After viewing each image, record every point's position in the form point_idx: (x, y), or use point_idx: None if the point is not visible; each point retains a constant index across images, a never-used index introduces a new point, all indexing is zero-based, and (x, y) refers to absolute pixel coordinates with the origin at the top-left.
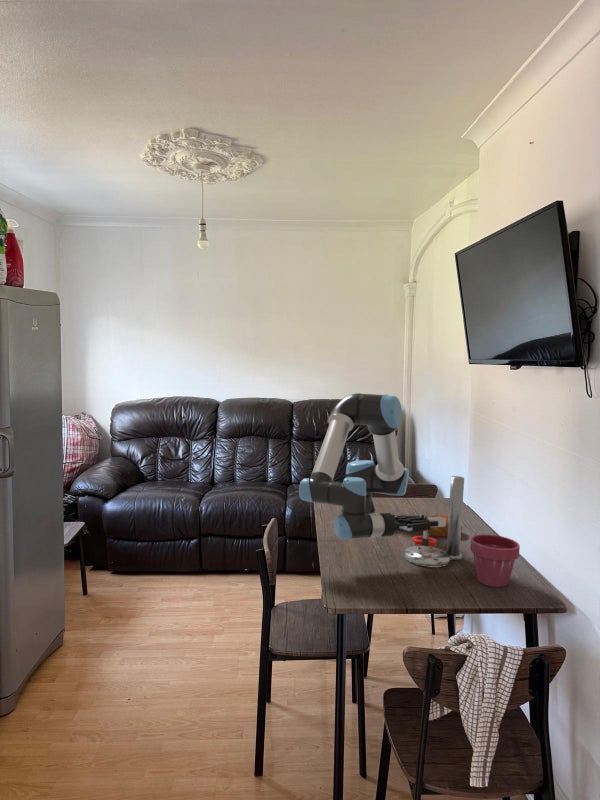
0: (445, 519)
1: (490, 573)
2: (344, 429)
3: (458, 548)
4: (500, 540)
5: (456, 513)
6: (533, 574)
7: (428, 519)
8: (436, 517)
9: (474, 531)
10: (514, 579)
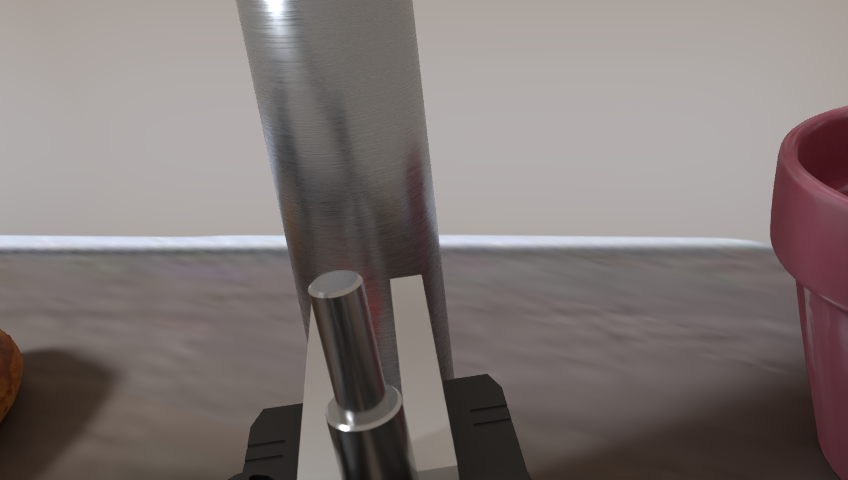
0: (421, 286)
1: None
2: None
3: None
4: (807, 157)
5: (423, 148)
6: (708, 266)
7: (444, 467)
8: None
9: (16, 308)
10: None
